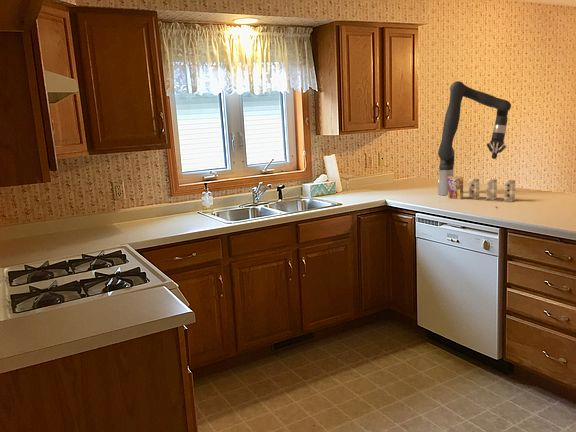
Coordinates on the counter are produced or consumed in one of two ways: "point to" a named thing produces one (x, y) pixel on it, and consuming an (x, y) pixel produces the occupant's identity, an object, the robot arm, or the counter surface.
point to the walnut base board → (491, 200)
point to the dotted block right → (509, 190)
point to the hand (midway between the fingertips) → (493, 158)
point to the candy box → (455, 187)
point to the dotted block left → (474, 188)
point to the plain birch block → (491, 189)
